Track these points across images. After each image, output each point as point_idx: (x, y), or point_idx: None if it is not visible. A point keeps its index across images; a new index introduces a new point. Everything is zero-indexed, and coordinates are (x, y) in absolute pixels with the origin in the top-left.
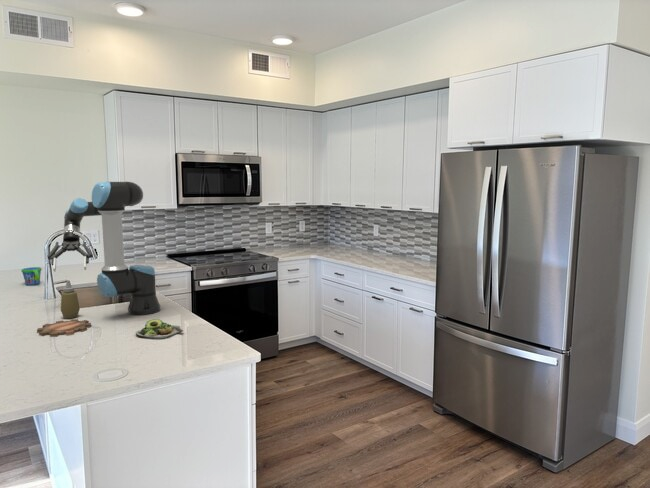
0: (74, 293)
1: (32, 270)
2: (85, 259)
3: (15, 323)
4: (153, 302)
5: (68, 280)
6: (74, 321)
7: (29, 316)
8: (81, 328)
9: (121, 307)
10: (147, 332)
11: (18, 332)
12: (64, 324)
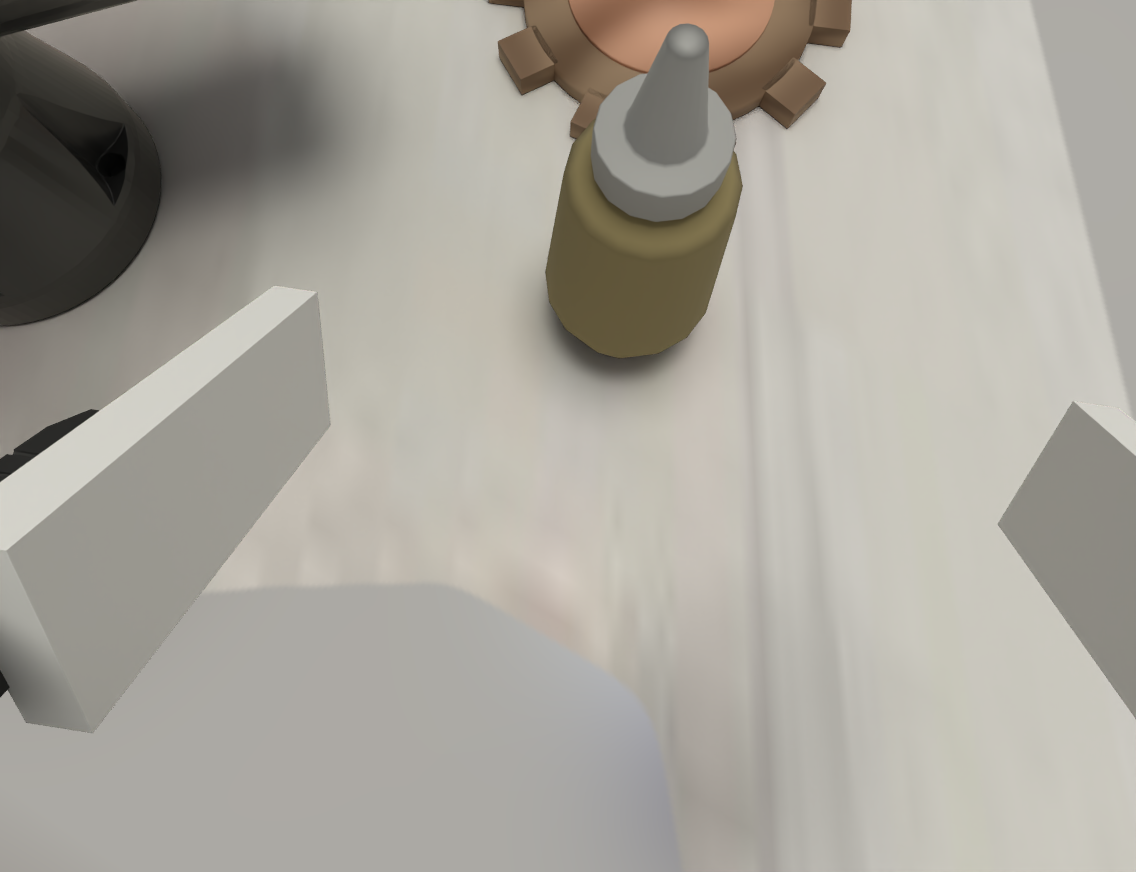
0: (591, 126)
1: None
2: (100, 425)
3: (1040, 331)
4: None
5: (681, 45)
6: (599, 76)
7: (967, 516)
8: None
9: None
10: None
11: (968, 74)
12: (672, 11)
